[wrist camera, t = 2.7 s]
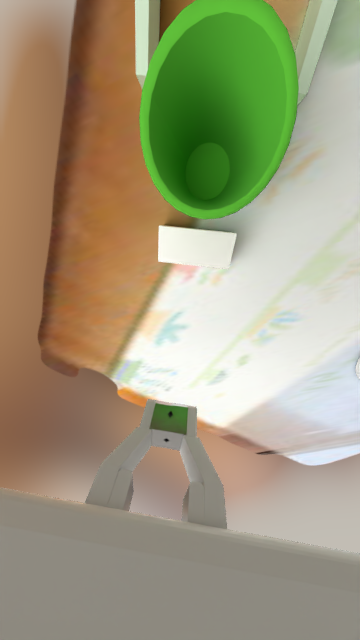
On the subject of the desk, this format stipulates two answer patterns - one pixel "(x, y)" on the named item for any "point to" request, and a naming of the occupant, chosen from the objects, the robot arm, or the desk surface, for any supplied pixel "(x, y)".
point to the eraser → (195, 246)
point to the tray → (305, 53)
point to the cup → (218, 106)
